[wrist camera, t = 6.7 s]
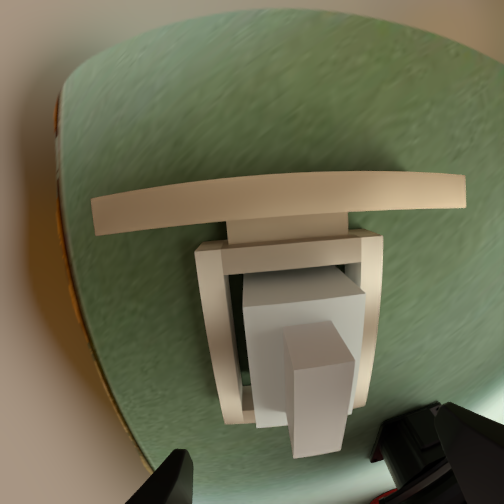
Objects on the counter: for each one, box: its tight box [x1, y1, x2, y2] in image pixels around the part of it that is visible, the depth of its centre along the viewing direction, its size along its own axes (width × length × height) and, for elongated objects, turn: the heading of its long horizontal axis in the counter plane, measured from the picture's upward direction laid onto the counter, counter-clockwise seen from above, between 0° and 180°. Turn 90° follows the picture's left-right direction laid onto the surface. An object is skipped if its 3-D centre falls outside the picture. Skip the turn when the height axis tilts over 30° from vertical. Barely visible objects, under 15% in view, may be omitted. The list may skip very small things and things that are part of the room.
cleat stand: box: [91, 171, 466, 424], centre depth 13 cm, size 14×16×5 cm
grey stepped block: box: [243, 265, 366, 459], centre depth 12 cm, size 7×5×8 cm
